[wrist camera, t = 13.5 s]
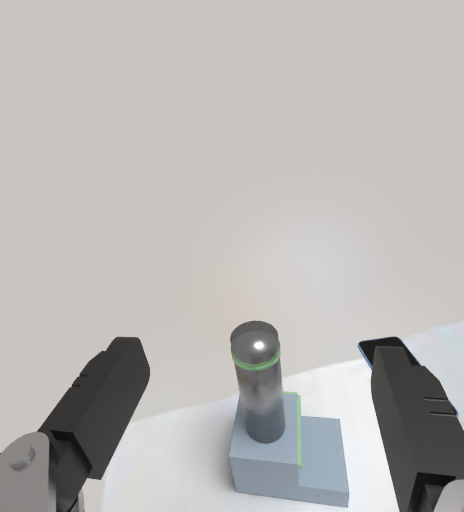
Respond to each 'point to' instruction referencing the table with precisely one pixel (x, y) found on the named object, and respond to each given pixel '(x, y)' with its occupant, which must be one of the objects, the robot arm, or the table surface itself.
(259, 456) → the blue-grey stepped block
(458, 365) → the table surface
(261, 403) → the steel thermos flask
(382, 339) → the smartphone
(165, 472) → the table surface
